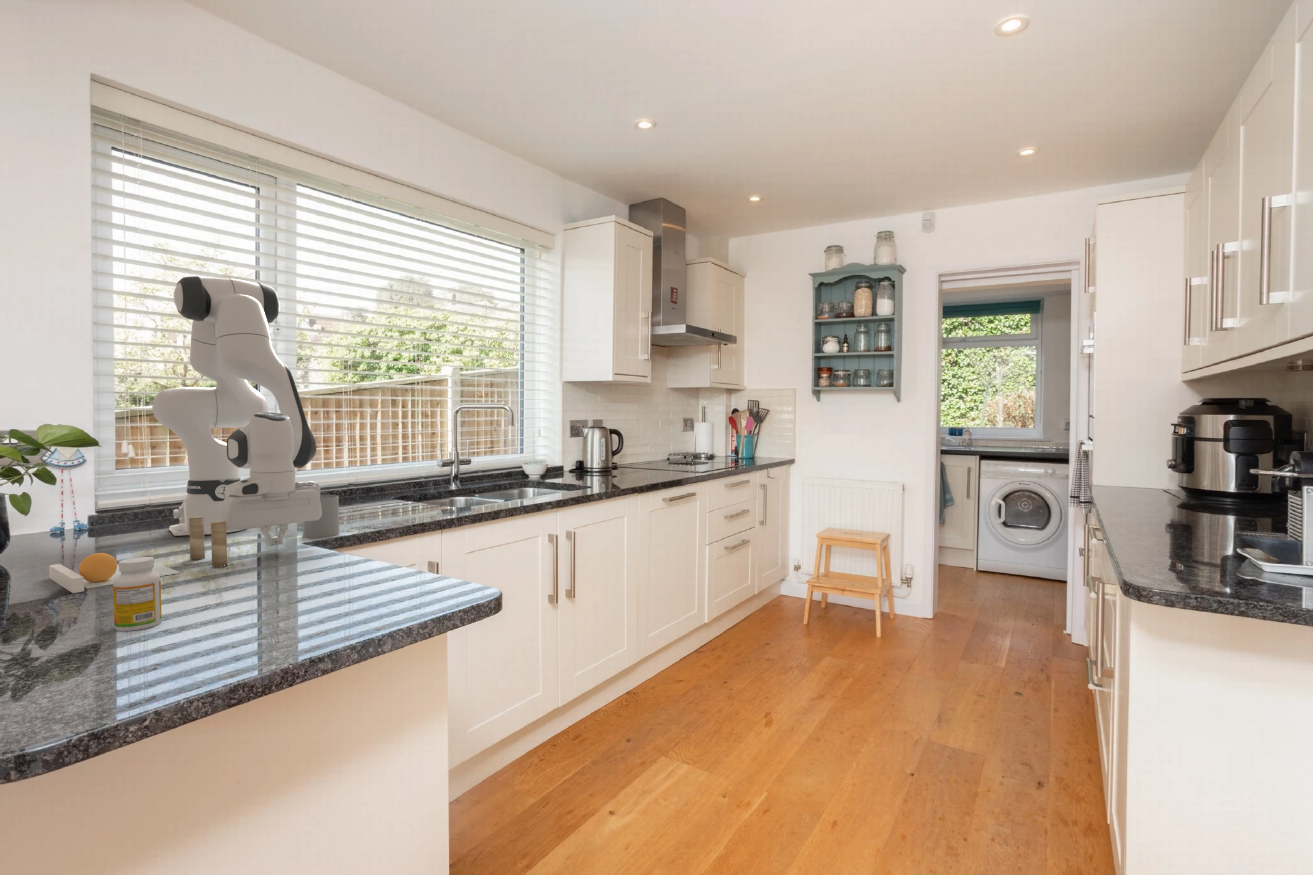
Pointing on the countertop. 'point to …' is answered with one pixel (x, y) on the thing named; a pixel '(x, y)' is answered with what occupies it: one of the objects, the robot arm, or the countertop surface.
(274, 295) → the robot arm
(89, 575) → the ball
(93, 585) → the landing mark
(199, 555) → the post
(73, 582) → the wall
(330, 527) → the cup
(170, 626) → the countertop surface
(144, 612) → the supplement bottle
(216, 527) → the post
